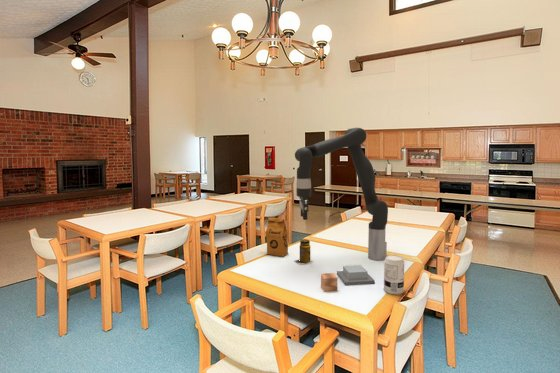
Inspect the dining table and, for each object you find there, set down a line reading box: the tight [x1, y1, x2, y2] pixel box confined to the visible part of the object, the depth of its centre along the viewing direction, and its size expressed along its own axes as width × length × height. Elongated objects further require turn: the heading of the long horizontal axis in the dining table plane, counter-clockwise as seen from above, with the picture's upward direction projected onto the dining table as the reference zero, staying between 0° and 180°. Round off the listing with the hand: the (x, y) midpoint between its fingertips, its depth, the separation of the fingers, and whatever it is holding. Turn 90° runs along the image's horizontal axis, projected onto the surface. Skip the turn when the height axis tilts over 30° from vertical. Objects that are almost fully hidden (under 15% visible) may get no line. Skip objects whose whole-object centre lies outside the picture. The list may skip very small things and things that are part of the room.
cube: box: [320, 272, 338, 292], centre depth 151 cm, size 6×6×6 cm
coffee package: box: [265, 217, 289, 258], centre depth 199 cm, size 10×12×22 cm
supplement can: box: [383, 254, 405, 296], centre depth 146 cm, size 8×8×15 cm
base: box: [336, 264, 376, 286], centre depth 161 cm, size 14×14×5 cm
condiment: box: [294, 238, 314, 266], centre depth 186 cm, size 7×8×12 cm
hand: (303, 218), depth 175 cm, fingers open, 8 cm apart
